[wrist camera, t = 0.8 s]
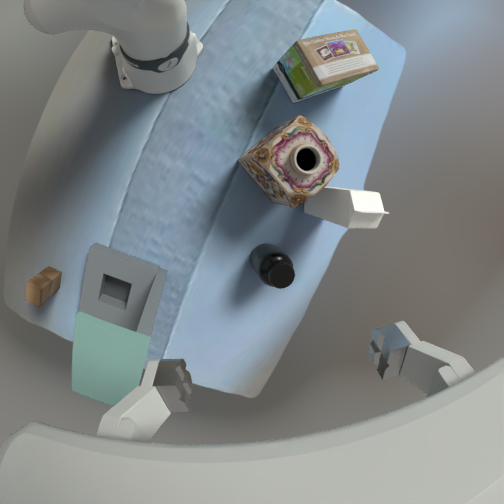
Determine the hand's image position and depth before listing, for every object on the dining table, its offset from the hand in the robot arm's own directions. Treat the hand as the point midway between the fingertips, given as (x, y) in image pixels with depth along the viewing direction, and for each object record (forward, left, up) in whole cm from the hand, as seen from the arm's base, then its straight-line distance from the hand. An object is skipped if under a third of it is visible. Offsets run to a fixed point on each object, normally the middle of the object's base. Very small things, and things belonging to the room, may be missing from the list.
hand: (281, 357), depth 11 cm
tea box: (-18, +33, -47) cm, 61 cm away
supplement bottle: (+14, +5, -47) cm, 50 cm away
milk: (+8, +21, -47) cm, 53 cm away
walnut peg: (-7, -40, -47) cm, 62 cm away
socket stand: (+3, -26, -47) cm, 54 cm away
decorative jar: (-3, +16, -47) cm, 50 cm away
